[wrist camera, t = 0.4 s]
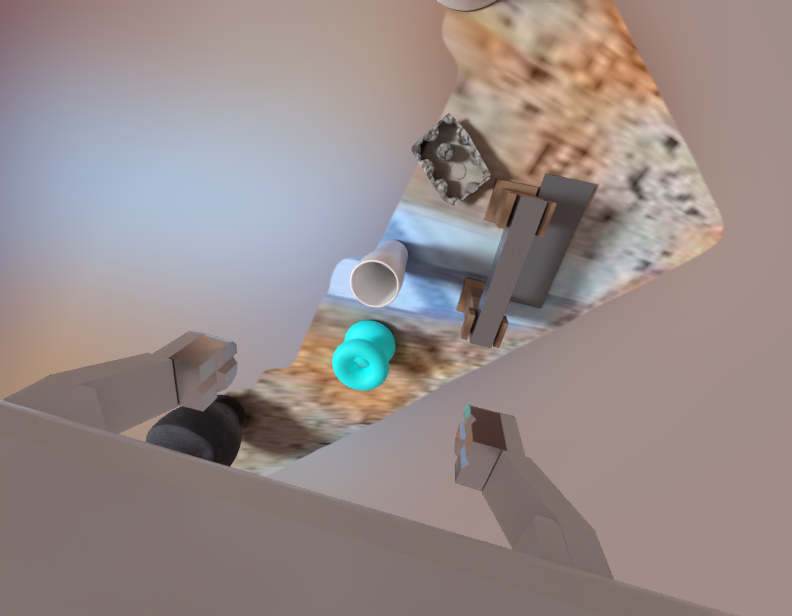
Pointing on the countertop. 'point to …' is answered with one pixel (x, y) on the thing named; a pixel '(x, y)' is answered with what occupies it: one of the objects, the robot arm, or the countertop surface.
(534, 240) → the grey flat bar
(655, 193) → the countertop surface
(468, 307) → the post
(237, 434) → the pitcher
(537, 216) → the rail
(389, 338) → the donuts
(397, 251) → the drinking glass
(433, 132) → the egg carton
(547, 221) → the post
